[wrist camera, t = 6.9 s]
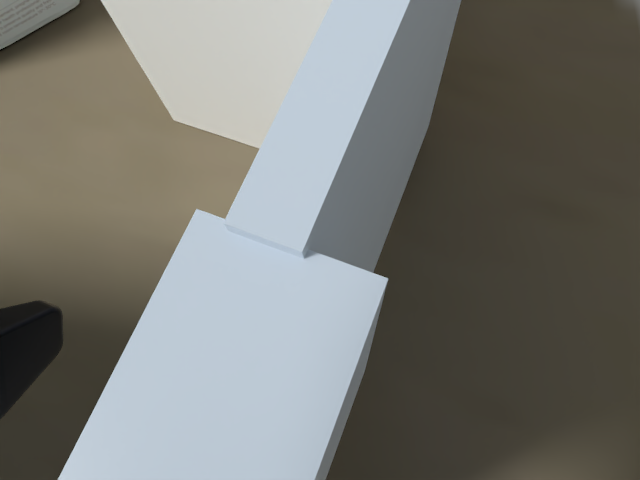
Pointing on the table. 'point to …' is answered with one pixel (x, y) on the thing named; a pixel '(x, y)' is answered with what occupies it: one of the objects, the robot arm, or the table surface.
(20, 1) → the supplement box
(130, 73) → the table surface
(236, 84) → the large white box
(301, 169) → the camera side door
